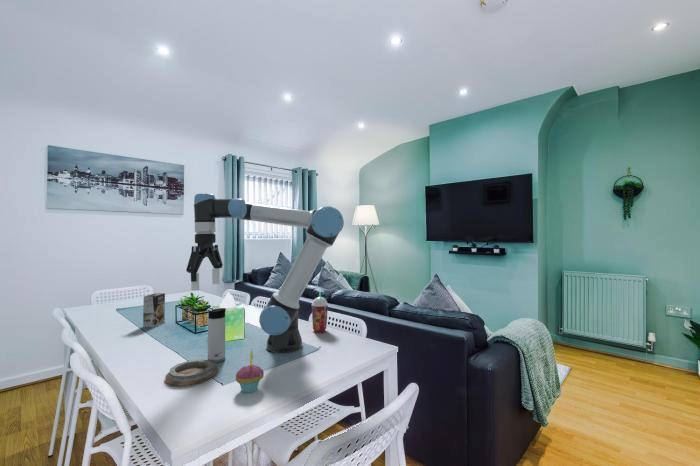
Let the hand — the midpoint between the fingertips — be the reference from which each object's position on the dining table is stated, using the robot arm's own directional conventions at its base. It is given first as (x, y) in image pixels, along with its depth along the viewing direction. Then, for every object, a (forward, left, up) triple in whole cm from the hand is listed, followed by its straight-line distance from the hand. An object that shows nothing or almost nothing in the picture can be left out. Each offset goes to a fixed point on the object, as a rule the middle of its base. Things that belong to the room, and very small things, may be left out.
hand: (206, 287), depth 126 cm
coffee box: (+53, -37, -28) cm, 70 cm away
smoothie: (-36, -41, -28) cm, 62 cm away
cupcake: (-28, +21, -28) cm, 45 cm away
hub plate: (-4, +15, -28) cm, 32 cm away
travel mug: (-5, +1, -28) cm, 29 cm away
